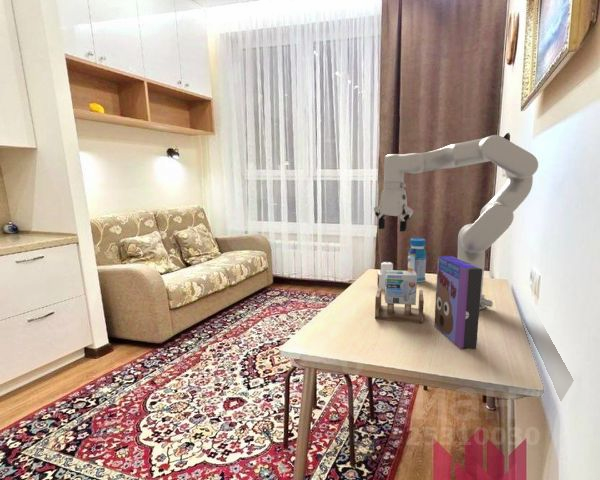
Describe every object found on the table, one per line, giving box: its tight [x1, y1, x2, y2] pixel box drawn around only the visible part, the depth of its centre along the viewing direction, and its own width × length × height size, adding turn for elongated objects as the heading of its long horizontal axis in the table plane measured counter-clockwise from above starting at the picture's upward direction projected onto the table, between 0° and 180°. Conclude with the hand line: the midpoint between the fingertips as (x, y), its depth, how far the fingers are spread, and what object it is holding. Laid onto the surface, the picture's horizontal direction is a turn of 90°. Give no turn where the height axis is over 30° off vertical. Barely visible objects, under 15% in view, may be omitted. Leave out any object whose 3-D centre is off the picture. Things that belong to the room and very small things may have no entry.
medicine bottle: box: [377, 260, 395, 291], centre depth 169 cm, size 7×7×12 cm
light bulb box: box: [384, 269, 418, 306], centre depth 135 cm, size 11×7×11 cm, turn 81°
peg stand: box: [374, 286, 425, 324], centre depth 136 cm, size 12×16×8 cm
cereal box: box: [433, 255, 482, 350], centre depth 116 cm, size 17×5×24 cm, turn 5°
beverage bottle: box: [407, 237, 427, 283], centre depth 180 cm, size 8×8×20 cm
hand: (391, 229), depth 151 cm, fingers open, 9 cm apart
